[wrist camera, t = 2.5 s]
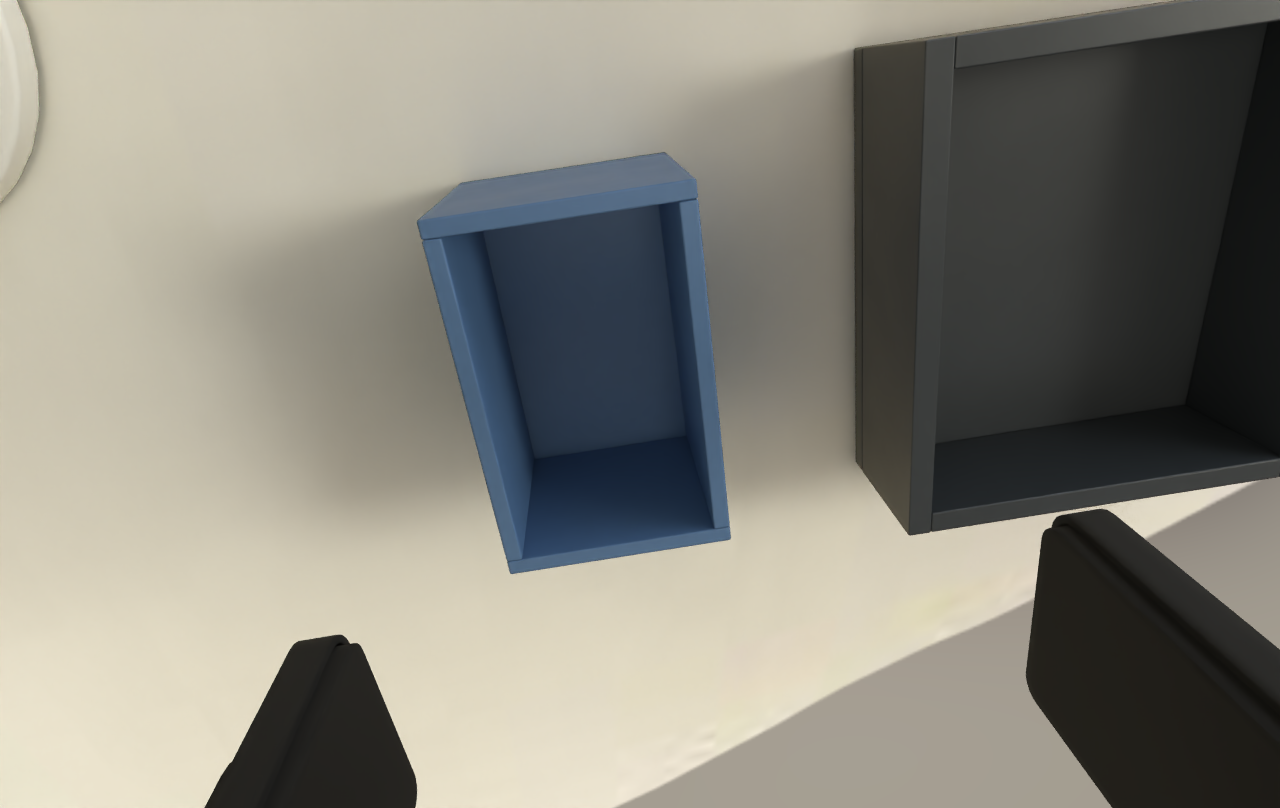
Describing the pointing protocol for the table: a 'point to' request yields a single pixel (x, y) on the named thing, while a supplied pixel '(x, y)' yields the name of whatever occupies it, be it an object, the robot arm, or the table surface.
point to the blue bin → (585, 357)
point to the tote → (1068, 261)
